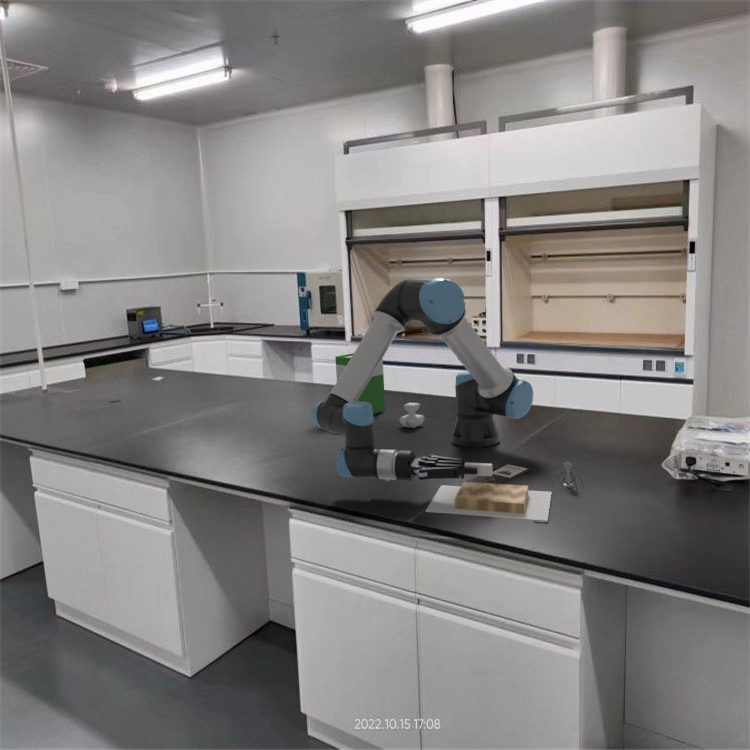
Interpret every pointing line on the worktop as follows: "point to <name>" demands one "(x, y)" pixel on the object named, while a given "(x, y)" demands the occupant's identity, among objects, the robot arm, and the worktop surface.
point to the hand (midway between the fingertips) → (491, 470)
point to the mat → (534, 510)
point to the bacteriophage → (567, 475)
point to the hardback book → (373, 388)
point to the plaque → (492, 497)
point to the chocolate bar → (502, 474)
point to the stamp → (412, 416)
